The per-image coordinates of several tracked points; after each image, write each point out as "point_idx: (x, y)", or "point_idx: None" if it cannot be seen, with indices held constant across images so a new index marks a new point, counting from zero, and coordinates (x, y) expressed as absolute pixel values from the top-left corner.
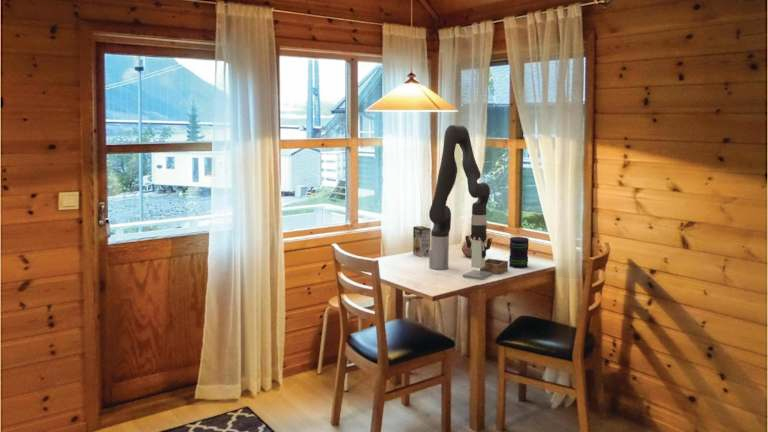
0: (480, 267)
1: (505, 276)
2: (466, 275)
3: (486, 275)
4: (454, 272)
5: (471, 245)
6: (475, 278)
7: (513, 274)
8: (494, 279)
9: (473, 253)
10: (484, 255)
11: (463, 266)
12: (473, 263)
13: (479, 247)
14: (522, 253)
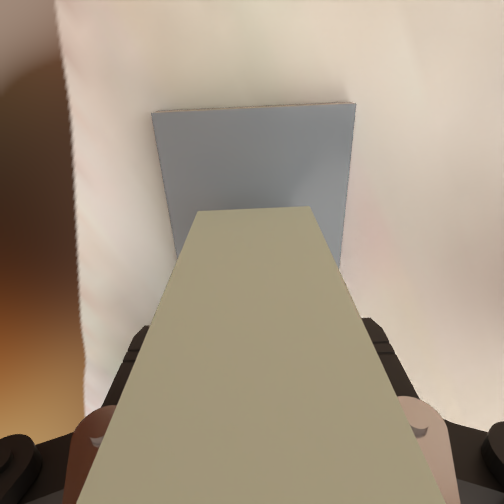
0: (196, 214)
1: (97, 313)
2: (315, 105)
3: (171, 221)
4: (472, 211)
5: (452, 498)
6: (216, 108)
7: (98, 372)
8: (90, 197)
9: (312, 305)
10: (136, 344)
11: (449, 377)
12: (288, 224)
13: (145, 445)
14: None
